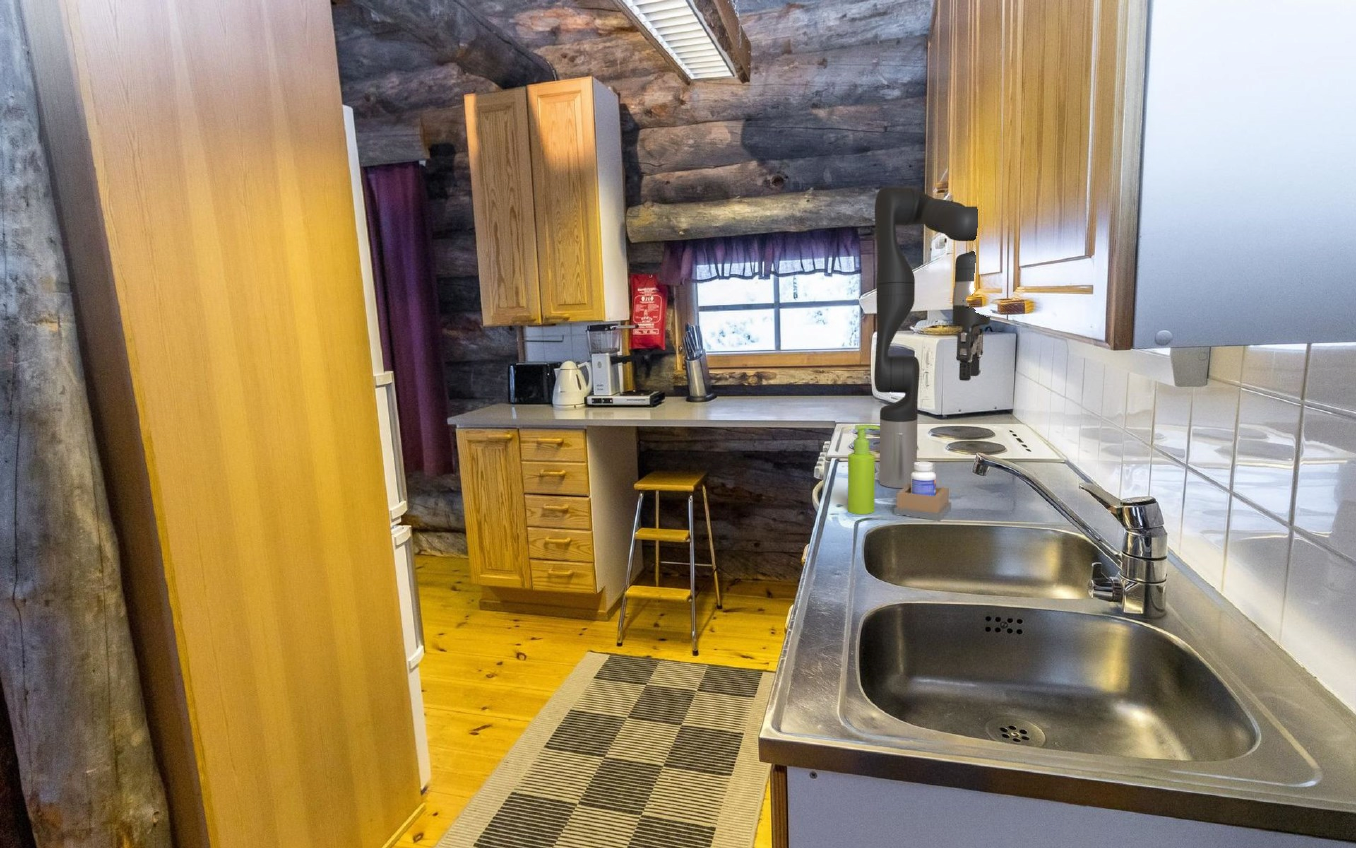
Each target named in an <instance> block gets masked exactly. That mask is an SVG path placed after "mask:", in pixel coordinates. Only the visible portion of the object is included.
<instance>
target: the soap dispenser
mask: <svg viewBox="0 0 1356 848" xmlns="http://www.w3.org/2000/svg"><path fill="white" fill-rule="evenodd" d="M854 429H855V430H857V438H855V439H853V452H852V453H849V454H848V455H847V460H848V461H847V467H848V468H847V473H848V474H847V511H848V512H849V513H851V514H855V515H869V514H868V513H871V514H873V513H875V496H876V495H875V492H876V491H875V490H876V489H875V488H876V487H875V485H876V484H875V483H876V482H875V481H876V478H875V477H876V475H875V473H876V471H875V470H876V469H875V468H876V467H875V466H876V465H875V464H876V456H875V454H873V453H870V440H869V438H866V430H878V431H880V425H879V426H878V425H874V424H857V425H855V426H854Z"/></svg>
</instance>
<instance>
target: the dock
mask: <svg viewBox="0 0 1356 848" xmlns="http://www.w3.org/2000/svg"><path fill="white" fill-rule="evenodd" d="M949 491H950V487H944V486H943V487H942V486H936V495H935V496H931V495H923V494H914V493H911V484H908V485H906V486H905V487H904V488H900V490H899V491H898V492H897V493H896V506H895V507H894V508H893V515H894V514H899V515H909V516H913V517H912V518H914V517H921V518H926V519H925V520H930V521H936V520H941V521H942V520H943V519H944V517H945V516H946V515H947V514H948V513H949V512H950V511H951V509H952V502H951V501H949V497H950V496H949V495H950V492H949ZM899 515H898V516H899ZM921 518H920V519H921Z"/></svg>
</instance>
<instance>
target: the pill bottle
mask: <svg viewBox="0 0 1356 848" xmlns="http://www.w3.org/2000/svg"><path fill="white" fill-rule="evenodd" d="M914 470H915V471H914V472H912V473H911V493H914V494H923V495H931V496H935V495H936V487H937V474H936V473H935V472H934V471H933V470H934V464H933V463H932V462H930V461H925V460H922V461H917V462H915V463H914Z"/></svg>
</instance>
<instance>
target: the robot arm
mask: <svg viewBox="0 0 1356 848" xmlns="http://www.w3.org/2000/svg"><path fill="white" fill-rule="evenodd" d="M977 206H978V205H977ZM977 206H976V205H975V206H966V205H964V204H963V203H960V202H957V201H952V200H949V199H940V198H934V197H933V196H930V195H928V194H927V193H924V192H923V191H921V189H920V190H919V189H917V188H915V187H910V186H892V185H891V186H889V185H887V186H883V187H882V188H880V189H879V191H878V192H877V194H876V198H875V201H874V224H875V225H874V226H875V236H876V249H877V250H876V251H877V253H876V254H877V255H876V256H877V258H876V261H877V262H876V263H877V266H876V269H877V270H876V272H877V273H876V299H875V300H876V342H875V359H874V376H873V378H874V387H875V390H876V392H878V393H882V394H883V393H887V394H888V393H890V394H891V393H892V394H894V393H896V394H898V393H900V394H901V393H904V396H903V397H902V398H901V399H899V400H898V401H896V402H894V403H890V404H887V405H884V406H883V407H881V408H880V411H879V427H880V429H879V467H878V469H879V476H878V477H879V479H878V480H879V481H878V483H879V485H881V486H883V487H887V488H895V489H903V488H904V487H905V486H906V485H908V484H911V473H912V472H914V471H915V470H914V463H915V462H918V422H919V421H918V417H919V415H918V411H919V410H918V405H919V402H918V399H919V397H918V396H919V384H920V374H921V373H920V371H921V369H920V361H919V359H918V358H917V357H916V356H913V355H907V356H906V355H905V356H903V355H899V356H897V355H896V356H894V355H893V356H890V355H889V350H890V347H891V344H892V342H893V340H894V338H895V336H896V334H897V333H898V331H899V329H900V327H901V326H902V325H903V323H904V321H905V320H906V319H907V318H908V317H909V315H910V313H911V311H912V309H913V307H914V305H915V297H916V295H915V294H916V293H915V291H916V287H915V286H916V284H915V283H916V280H915V275H914V274H915V273H914V271H913V269H912V267H911V266H910V264H909V262H908V260H907V259H906V257H905V255H904V253H903V251H902V250H901V249H902V248H900V245H899V242H898V238H897V228H896V226H900V227H901V226H902V227H904V226H905V227H906V226H907V227H908V226H911V225H913V226H914V225H924V226H925V227H926V228H928V229H929V230H931V231H933V232H936V233H940V234H943V235H945V236H947V238H948V239H950V240H952V241H956V242H975V241H974V240H975V239H976V236H977V228H978V209H977ZM954 262H955V263H954V287H953V290H952V291H953V292H952V320H951V321H952V325H953V326H956V327H962V328H961V331H958V332H957V333H956V335H957V337H956V338H957V339H956V361H958V363H959V373H958V380H959V381H965V382H967V381H968V382H969V381H970V380H971V377H978V376H979V374H980V363H981V361H980V359H981V358H982V356H983V354H984V351H983V348H984V347H983V345H984V329H983V328H980V326H988V325H990V323H991V316H990V317H986V316H984V315H980V314H979V313H976V312H975V311H976V310H975V309H974V308H972V307H971V306H970V308H969V307H968V306H969V303H967V301H966V298H967V296H970V295H972V294H973V293H974V290H975V288H974V273H975V263H976V255H975V252H974V251H972V250H971V251H969V252H964V253H961V254H959V255H958V256H957V257H956V258H955V261H954Z"/></svg>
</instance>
